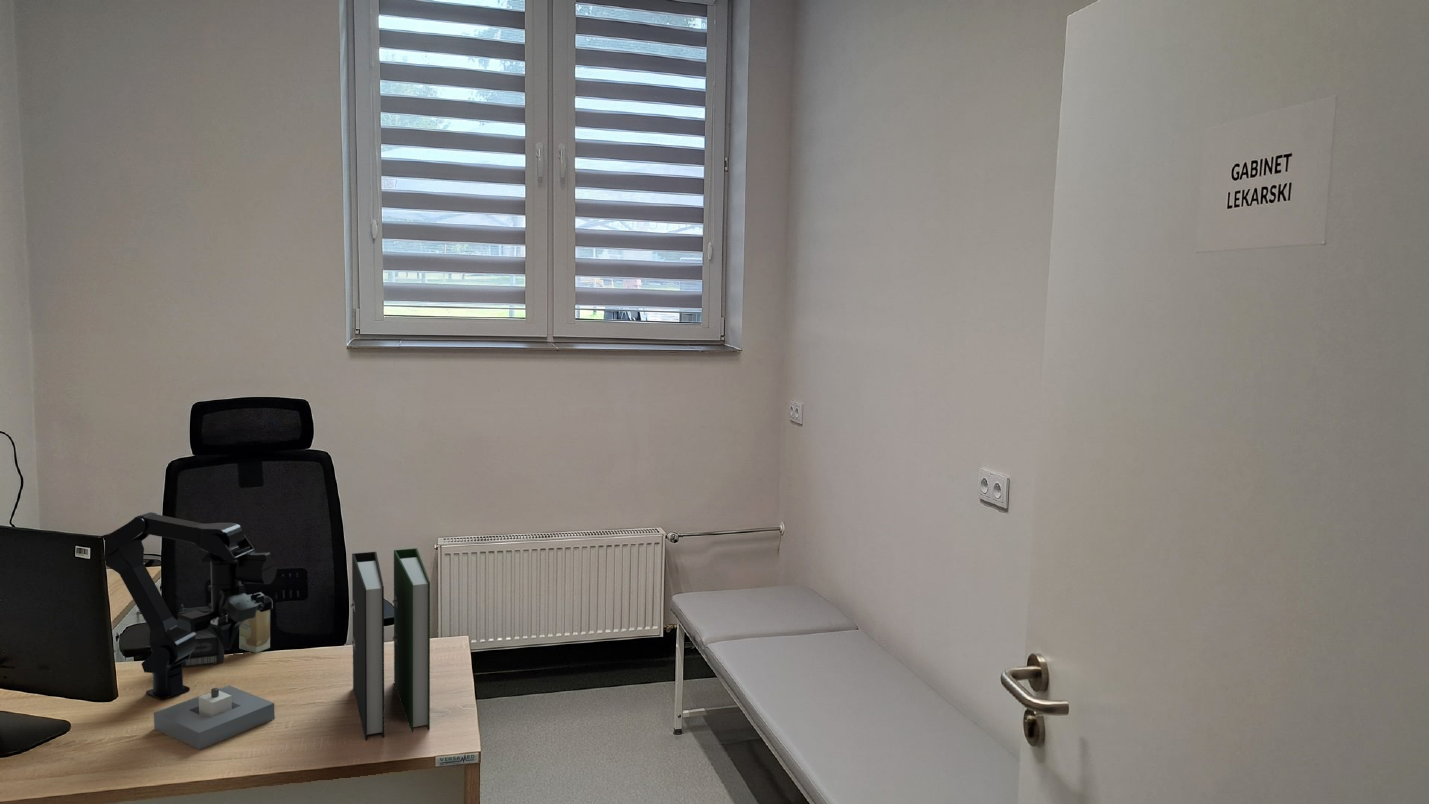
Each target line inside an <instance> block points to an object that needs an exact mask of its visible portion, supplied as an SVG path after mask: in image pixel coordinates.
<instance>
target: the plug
mask: <svg viewBox="0 0 1429 804" xmlns="http://www.w3.org/2000/svg"><path fill="white" fill-rule="evenodd" d="M219 689H220V688H219V687H214V688H211V690H210V691H209V692H210V693H209V692H207V693H208V694H206V693H204V694H205V695H204V694H201V695H202V696H201V695H199V715H202V716H204V717H206V718H211V717H213V716H216V715H218V714H221V713H223V712H226V711H229V710H231V709H232V696H231V695H229V694H226V693H224V692H221V691H219Z"/></svg>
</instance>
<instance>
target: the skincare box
mask: <svg viewBox="0 0 1429 804" xmlns="http://www.w3.org/2000/svg"><path fill="white" fill-rule="evenodd" d="M238 631H239V633H238V634H239V635H238V636H239V637H238V639H239V640H238V642H239V643H238V644H239V646H238V647H239V649H240V650H243V651H244V650H245V651H247V652H251V653H254V654H257V653H260V652H262V651H265V650H267V649H270V648H271V610H268V611H264V612H260V611H257V613H256V617H255V618H252V619H251V618H250V619H248V620H245V621H244V622H243V623H242V624H241V625H240V626H239V628H238Z"/></svg>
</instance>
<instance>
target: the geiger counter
mask: <svg viewBox="0 0 1429 804" xmlns="http://www.w3.org/2000/svg"><path fill="white" fill-rule="evenodd" d="M192 611H199V612H202V613H208V612H211V611H212V610H211V609H208V606H200V607H199V606H196V607H188V608H186V607H184V604H183V603H182V604H181V605H180V608H179V611H178V613H177V614H176V620H178V618H179V616H180V615H181V614H185V613H189V612H192ZM195 633H196V634H197V635H196V636H195V638H196V641H197V644H196V647H195V649H194V651H193V652H192V653H191V656H190V658H189V659H188V660H186V661H184V662H182V669H184V667H185V668H193V667H204V666H211V665H219V664H220V665H221V664H223V663H224V661H225V651H226V650H225V649H224V647H223V646H222V644H221V642H220V640H219V638H218V637H217V635H216V633H215V632H214V630H213V629H212V628H211V626H209V627H208V628H207V629H204V630H200V631H197V632H195Z"/></svg>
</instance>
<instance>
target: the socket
mask: <svg viewBox="0 0 1429 804" xmlns="http://www.w3.org/2000/svg"><path fill="white" fill-rule="evenodd" d="M219 691H221V692H224V693H226V694H229V695H231V696H232V709H231V710H229V711H226V712H223V713H221V714H218V715H216V716H213V717H211V718H206V717H204V716H202V715H199V696H202V695H205V694H208V693H210V692H211V691H209V692H207V693H204V694H200V695H199V696H196V697H193V698H191V699H187V700H185V701H182V702H179V703H176V704H174V705H171V706H168V707H166V708H163V709H160V710H158V711H155V712H153V728H154V730H156V731H158V732H160V733H163V734H164V735H167V736H168V737H171V738H173V737H174V738H173V739H175V738H176V740H178V741H180V742H182V743H184V744H186V743H187V744H186V745H188V746H191V747H192V746H193V748H195V749H197V750H198V751H200V750H202V749H206V748H208V747H210V746H212V745H215V744H217V743H219V742H222V741H224V740H227V739H230V738H231V737H234V736H236V735H239V734H242V733H244V732H245V731H248V730H251V729H253V728H255V727H258V726H260V725H263V724H265V722H266V723H268V722H269V721H272V719H273V720H274V719H275V718H276V717H275V702H274V701H270V700H268V699H265V698H263V697H260V696H257V695H255V694H252V693H250V692H247V691H244V690H243V689H239V688H237V687H235V686H231V685H226V686H224V687H221V688H219Z"/></svg>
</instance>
